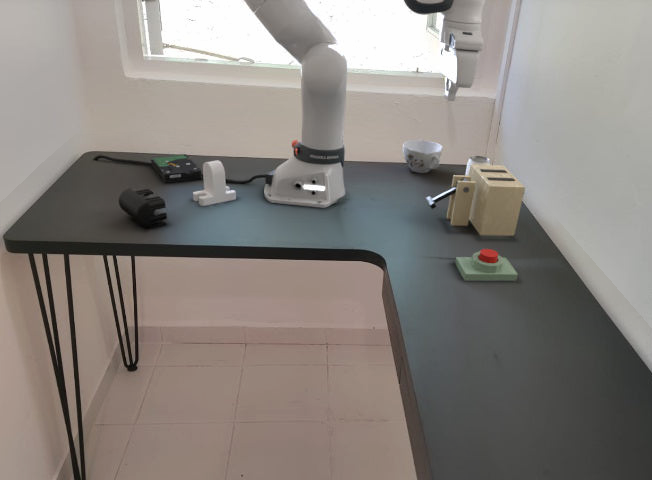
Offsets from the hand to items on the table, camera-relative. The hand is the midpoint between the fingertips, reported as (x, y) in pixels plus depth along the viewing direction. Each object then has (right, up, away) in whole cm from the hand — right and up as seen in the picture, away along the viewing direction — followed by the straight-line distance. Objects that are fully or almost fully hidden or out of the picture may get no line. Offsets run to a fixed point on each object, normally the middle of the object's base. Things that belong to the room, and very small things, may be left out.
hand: (449, 99), depth 139 cm
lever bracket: (+4, -28, +15) cm, 32 cm away
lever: (+1, -21, +10) cm, 23 cm away
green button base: (+7, -41, -6) cm, 42 cm away
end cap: (-72, -29, +1) cm, 78 cm away
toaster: (+12, -27, +17) cm, 34 cm away
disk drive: (-74, -10, +30) cm, 81 cm away
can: (+11, -17, +33) cm, 39 cm away
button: (+8, -38, -7) cm, 40 cm away
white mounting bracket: (-60, -21, +16) cm, 65 cm away
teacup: (-3, -5, +50) cm, 50 cm away
